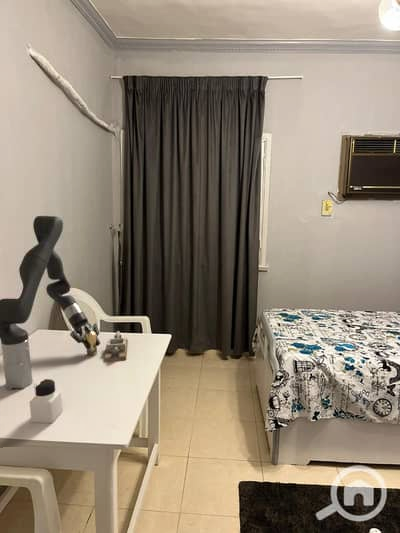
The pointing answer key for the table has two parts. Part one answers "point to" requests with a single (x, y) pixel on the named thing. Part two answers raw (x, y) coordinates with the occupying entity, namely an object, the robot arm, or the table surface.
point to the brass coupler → (91, 343)
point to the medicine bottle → (45, 402)
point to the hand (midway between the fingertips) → (94, 346)
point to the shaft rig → (116, 348)
